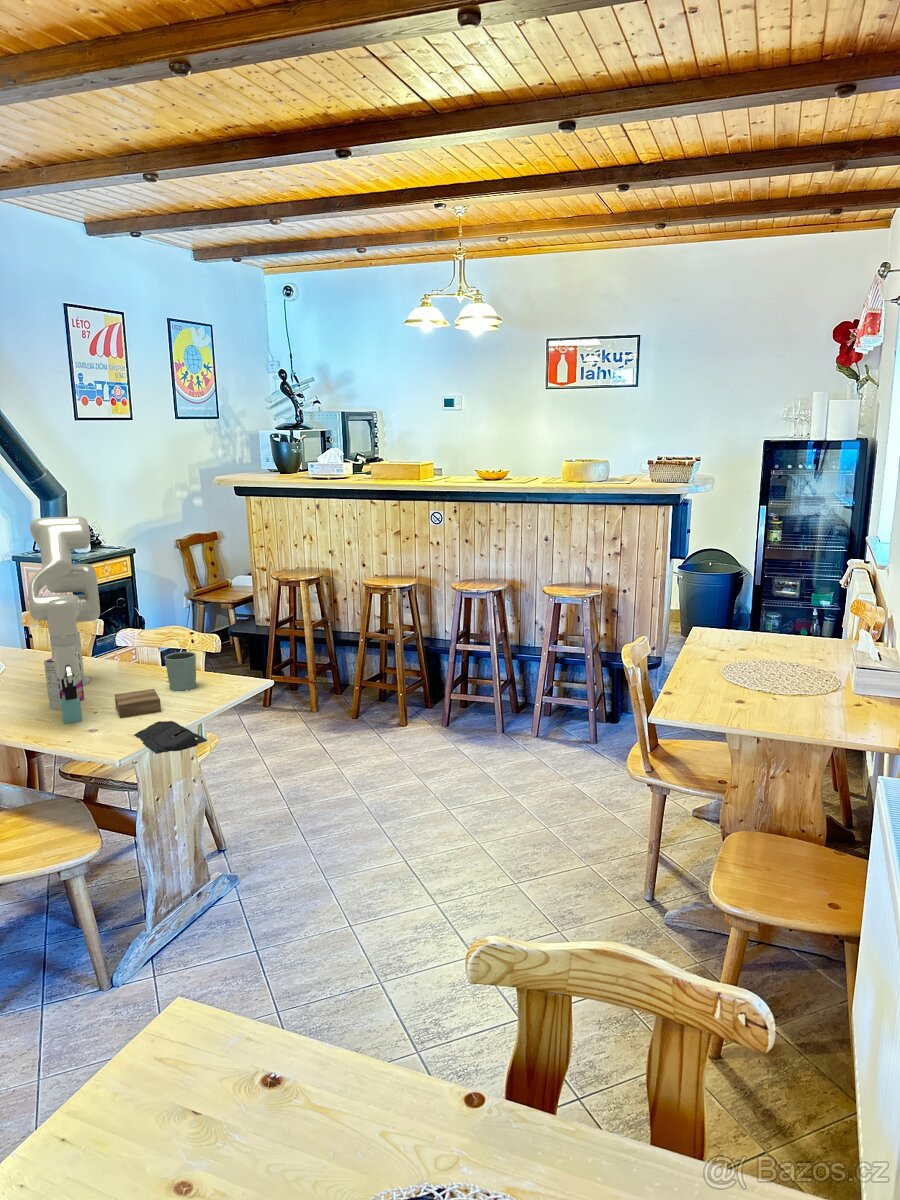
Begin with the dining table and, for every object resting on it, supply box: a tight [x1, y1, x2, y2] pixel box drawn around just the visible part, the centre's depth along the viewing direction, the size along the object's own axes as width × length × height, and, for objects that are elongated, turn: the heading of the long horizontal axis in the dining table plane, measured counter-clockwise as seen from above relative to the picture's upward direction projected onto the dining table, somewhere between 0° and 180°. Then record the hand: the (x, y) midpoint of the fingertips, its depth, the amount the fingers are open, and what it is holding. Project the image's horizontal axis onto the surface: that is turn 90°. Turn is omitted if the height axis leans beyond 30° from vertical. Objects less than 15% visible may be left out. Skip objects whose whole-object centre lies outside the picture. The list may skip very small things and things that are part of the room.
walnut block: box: [114, 688, 162, 719], centre depth 252 cm, size 12×12×5 cm
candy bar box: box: [43, 652, 85, 711], centre depth 257 cm, size 11×5×16 cm, turn 168°
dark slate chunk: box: [133, 720, 208, 755], centre depth 227 cm, size 15×22×5 cm
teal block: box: [61, 696, 83, 725], centre depth 242 cm, size 5×5×7 cm
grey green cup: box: [164, 651, 197, 692], centre depth 273 cm, size 10×10×12 cm
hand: (69, 695), depth 241 cm, fingers open, 9 cm apart
